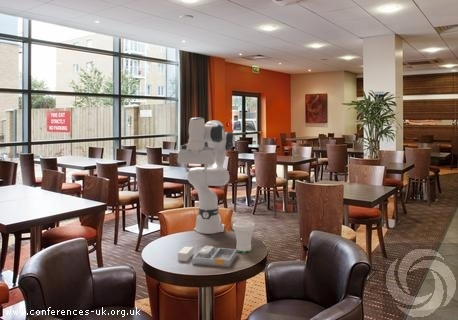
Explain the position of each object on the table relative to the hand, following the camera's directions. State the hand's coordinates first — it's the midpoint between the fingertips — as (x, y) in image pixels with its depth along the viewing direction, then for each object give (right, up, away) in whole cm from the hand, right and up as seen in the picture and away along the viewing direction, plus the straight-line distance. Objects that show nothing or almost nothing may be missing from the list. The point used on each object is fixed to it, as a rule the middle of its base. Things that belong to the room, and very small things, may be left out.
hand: (195, 172), depth 216 cm
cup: (+26, -40, -9) cm, 49 cm away
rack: (+11, -41, -22) cm, 48 cm away
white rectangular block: (-3, -41, -19) cm, 46 cm away
